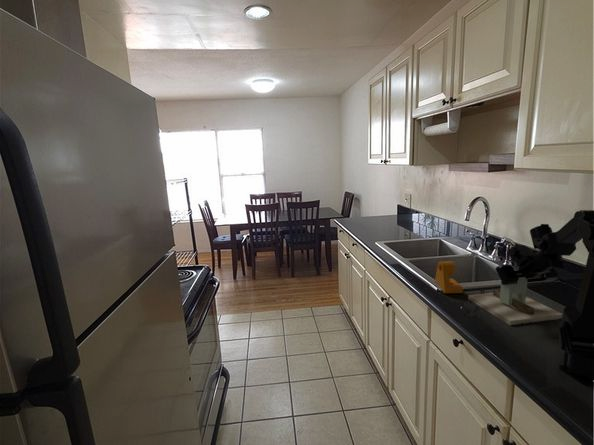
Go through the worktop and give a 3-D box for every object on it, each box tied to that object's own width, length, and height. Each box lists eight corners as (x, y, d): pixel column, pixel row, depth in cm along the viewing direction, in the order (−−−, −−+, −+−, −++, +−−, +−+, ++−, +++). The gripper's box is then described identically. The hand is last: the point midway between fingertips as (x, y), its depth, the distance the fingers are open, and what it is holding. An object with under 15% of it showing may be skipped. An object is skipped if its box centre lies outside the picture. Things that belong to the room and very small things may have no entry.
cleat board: (562, 318, 106) (563, 308, 105) (509, 325, 103) (510, 315, 102) (513, 293, 125) (514, 285, 124) (468, 299, 123) (468, 290, 122)
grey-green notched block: (525, 303, 112) (527, 274, 110) (508, 305, 111) (510, 276, 109) (515, 298, 116) (518, 270, 114) (499, 300, 115) (501, 272, 113)
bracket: (463, 295, 126) (465, 265, 124) (444, 295, 127) (445, 266, 125) (452, 284, 137) (453, 257, 135) (434, 284, 138) (436, 257, 135)
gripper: (553, 237, 107) (522, 260, 119) (502, 242, 104) (476, 264, 117) (573, 268, 100) (539, 288, 113) (519, 273, 98) (490, 293, 111)
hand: (510, 282), depth 114 cm, fingers closed on grey-green notched block, 6 cm apart
